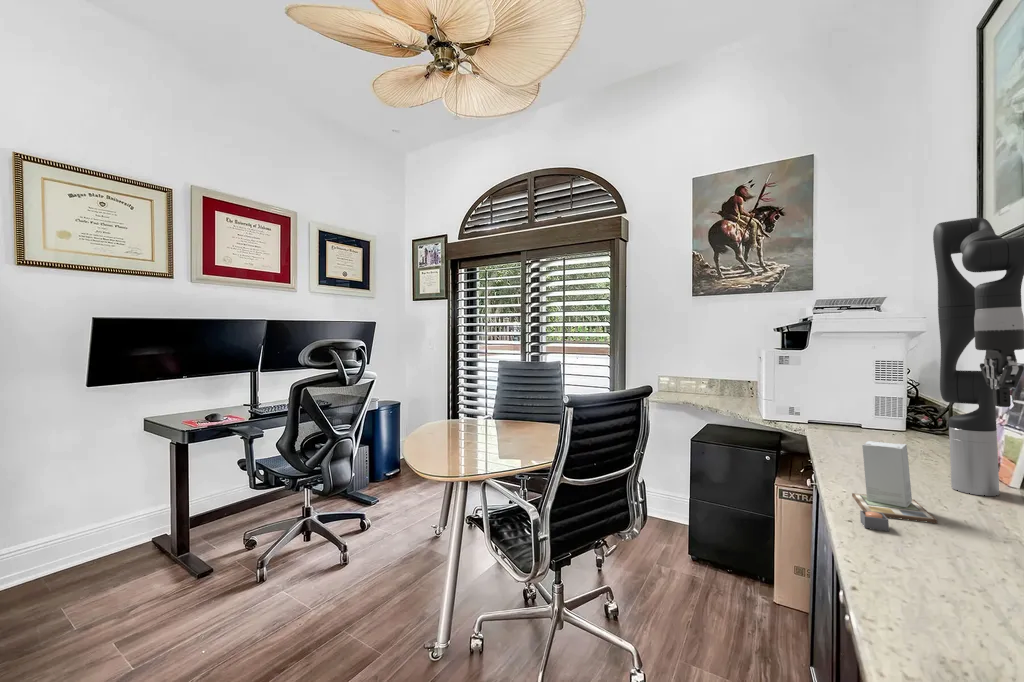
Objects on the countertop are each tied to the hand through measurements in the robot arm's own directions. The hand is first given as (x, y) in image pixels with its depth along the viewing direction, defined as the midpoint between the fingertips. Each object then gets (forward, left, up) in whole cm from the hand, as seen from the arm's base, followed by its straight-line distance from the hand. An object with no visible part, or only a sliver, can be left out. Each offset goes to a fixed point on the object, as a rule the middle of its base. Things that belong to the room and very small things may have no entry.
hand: (1002, 406), depth 99 cm
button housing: (+10, -26, -27) cm, 38 cm away
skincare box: (-7, -19, -26) cm, 33 cm away
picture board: (-5, -19, -27) cm, 33 cm away
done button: (+10, -26, -26) cm, 38 cm away
